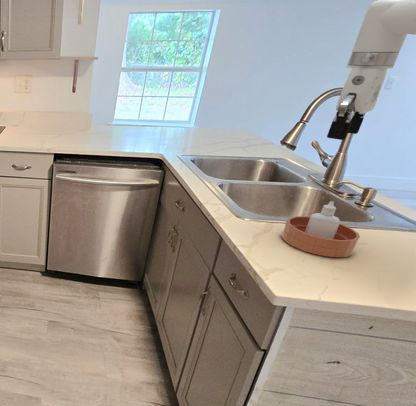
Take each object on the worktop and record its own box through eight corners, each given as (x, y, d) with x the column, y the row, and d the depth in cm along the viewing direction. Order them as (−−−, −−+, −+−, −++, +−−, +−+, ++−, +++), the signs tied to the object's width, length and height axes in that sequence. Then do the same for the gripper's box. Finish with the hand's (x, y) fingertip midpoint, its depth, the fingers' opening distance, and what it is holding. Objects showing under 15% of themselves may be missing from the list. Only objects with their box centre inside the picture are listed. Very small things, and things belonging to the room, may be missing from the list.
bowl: (359, 247, 95) (366, 230, 93) (341, 264, 88) (349, 247, 86) (292, 227, 106) (298, 211, 104) (272, 241, 99) (278, 225, 97)
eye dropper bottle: (324, 249, 94) (341, 207, 89) (298, 240, 99) (313, 199, 94) (333, 245, 95) (350, 204, 91) (307, 236, 100) (323, 196, 95)
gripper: (384, 63, 75) (351, 144, 82) (404, 59, 83) (373, 133, 90) (336, 62, 81) (309, 138, 87) (360, 58, 89) (334, 128, 96)
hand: (342, 135), depth 89 cm, fingers open, 9 cm apart
